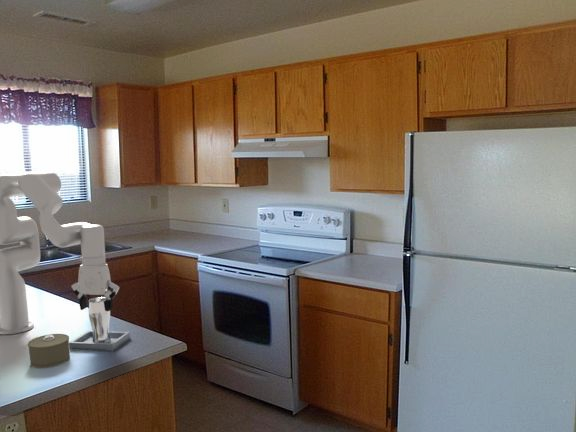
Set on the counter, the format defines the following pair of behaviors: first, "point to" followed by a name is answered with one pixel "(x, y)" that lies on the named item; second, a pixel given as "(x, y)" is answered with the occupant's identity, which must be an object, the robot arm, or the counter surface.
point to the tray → (86, 343)
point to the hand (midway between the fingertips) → (96, 309)
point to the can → (49, 350)
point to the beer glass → (99, 320)
